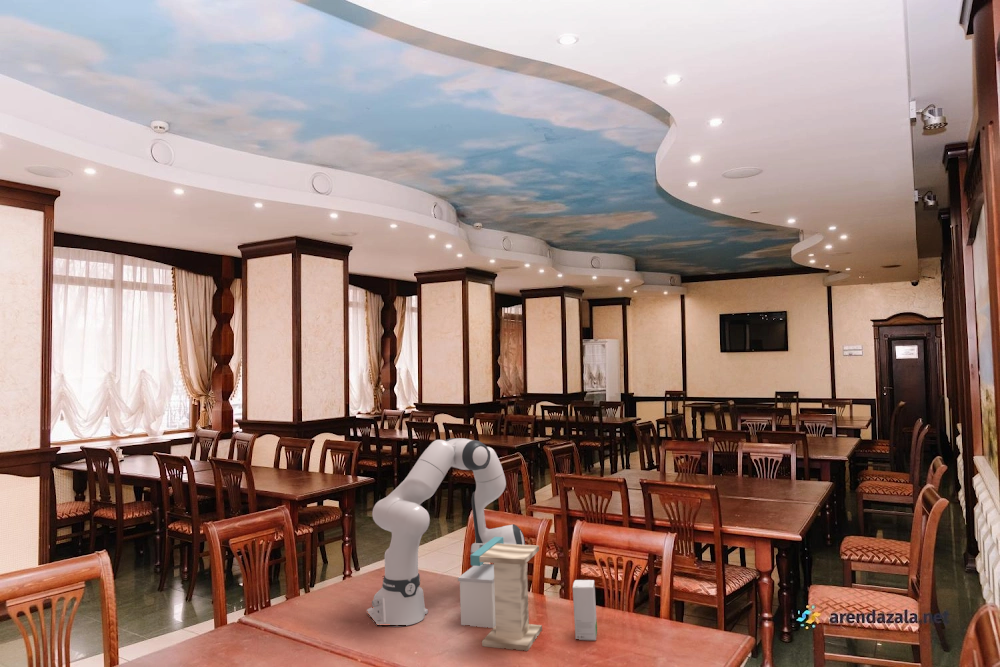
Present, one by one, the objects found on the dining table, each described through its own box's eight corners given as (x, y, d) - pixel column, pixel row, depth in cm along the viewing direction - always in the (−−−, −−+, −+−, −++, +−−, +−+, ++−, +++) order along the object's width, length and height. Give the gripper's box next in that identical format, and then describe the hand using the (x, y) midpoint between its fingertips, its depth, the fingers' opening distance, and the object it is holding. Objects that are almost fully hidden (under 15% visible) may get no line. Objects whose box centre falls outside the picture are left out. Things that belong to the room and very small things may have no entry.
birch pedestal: (499, 626, 211) (496, 543, 213) (542, 630, 207) (538, 545, 208) (482, 646, 196) (479, 556, 198) (527, 650, 192) (524, 559, 193)
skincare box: (595, 641, 197) (593, 587, 198) (573, 640, 198) (571, 587, 199) (597, 630, 205) (595, 579, 206) (576, 629, 206) (574, 578, 207)
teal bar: (495, 545, 236) (494, 536, 236) (503, 546, 235) (503, 537, 235) (470, 565, 213) (470, 555, 214) (480, 565, 212) (479, 555, 212)
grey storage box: (477, 607, 229) (476, 563, 230) (510, 610, 225) (508, 565, 226) (459, 625, 213) (458, 577, 214) (493, 628, 209) (492, 580, 210)
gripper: (479, 545, 245) (466, 534, 234) (532, 548, 239) (521, 537, 228) (476, 563, 242) (463, 552, 231) (530, 566, 235) (519, 555, 224)
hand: (492, 545), depth 229 cm, fingers closed on teal bar, 3 cm apart
